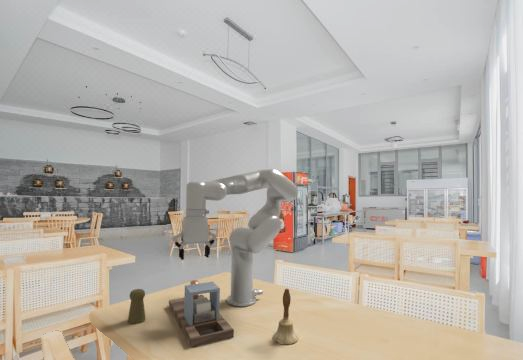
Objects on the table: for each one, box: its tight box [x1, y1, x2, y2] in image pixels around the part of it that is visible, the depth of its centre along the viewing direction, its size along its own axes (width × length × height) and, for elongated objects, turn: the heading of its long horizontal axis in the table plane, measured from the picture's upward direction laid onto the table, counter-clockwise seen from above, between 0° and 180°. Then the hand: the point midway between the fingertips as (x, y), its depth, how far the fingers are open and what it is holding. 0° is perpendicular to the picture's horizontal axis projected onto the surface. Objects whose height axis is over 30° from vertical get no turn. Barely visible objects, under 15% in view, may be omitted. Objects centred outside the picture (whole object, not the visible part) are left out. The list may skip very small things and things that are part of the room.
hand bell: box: [272, 288, 299, 345], centre depth 97 cm, size 8×8×16 cm
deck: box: [168, 294, 235, 348], centre depth 109 cm, size 35×14×2 cm, turn 28°
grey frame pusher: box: [189, 280, 215, 323], centre depth 108 cm, size 15×7×10 cm, turn 28°
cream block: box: [193, 297, 211, 314], centre depth 105 cm, size 5×5×6 cm
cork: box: [127, 288, 146, 325], centre depth 108 cm, size 6×6×11 cm
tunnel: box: [183, 281, 221, 326], centre depth 105 cm, size 8×10×11 cm
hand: (194, 257), depth 114 cm, fingers open, 9 cm apart
